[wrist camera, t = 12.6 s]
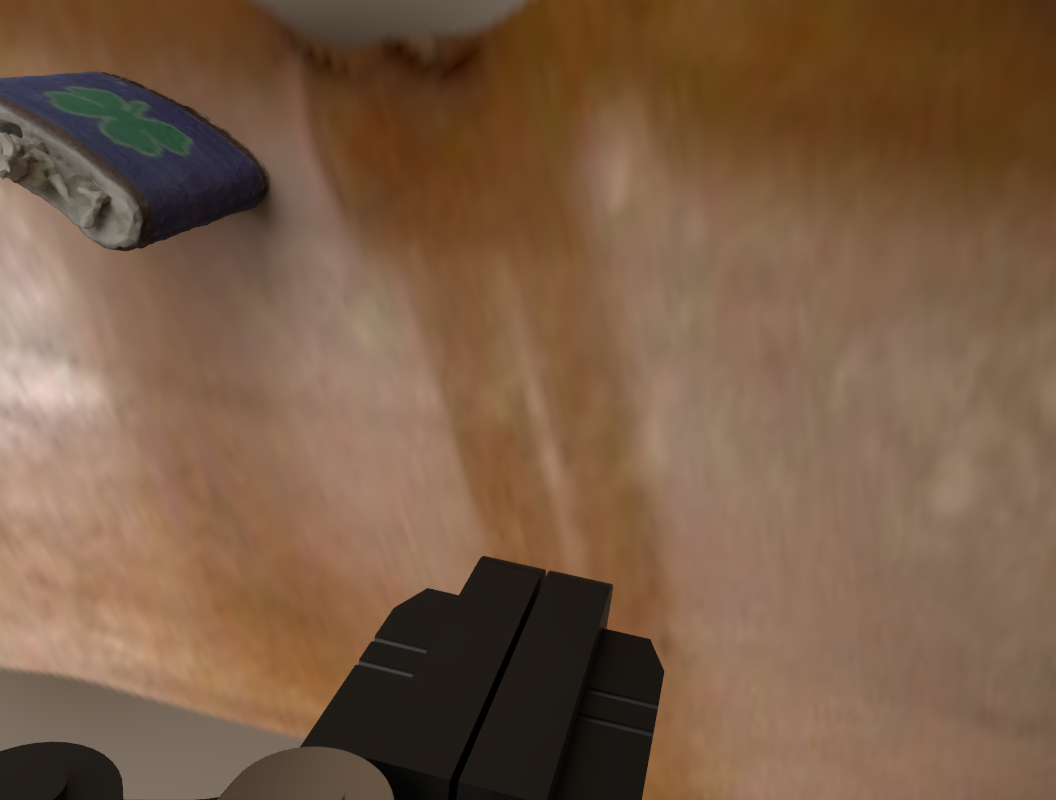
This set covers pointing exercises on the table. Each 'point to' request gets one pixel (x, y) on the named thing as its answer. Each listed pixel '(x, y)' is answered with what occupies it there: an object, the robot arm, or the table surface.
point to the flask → (122, 157)
